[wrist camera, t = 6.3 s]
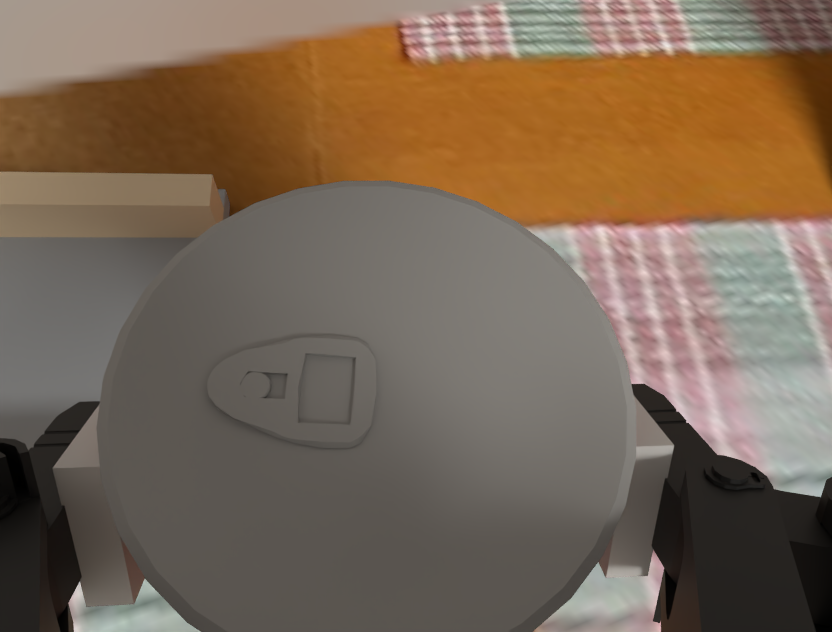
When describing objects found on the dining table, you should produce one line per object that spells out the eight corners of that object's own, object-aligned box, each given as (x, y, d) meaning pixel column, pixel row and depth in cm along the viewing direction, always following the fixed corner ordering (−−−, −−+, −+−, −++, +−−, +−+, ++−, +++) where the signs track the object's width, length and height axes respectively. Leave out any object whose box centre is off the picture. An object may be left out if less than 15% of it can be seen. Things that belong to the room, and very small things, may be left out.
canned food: (223, 399, 20) (78, 214, 10) (463, 350, 21) (551, 142, 11) (256, 664, 17) (101, 780, 7) (530, 591, 19) (726, 602, 8)
